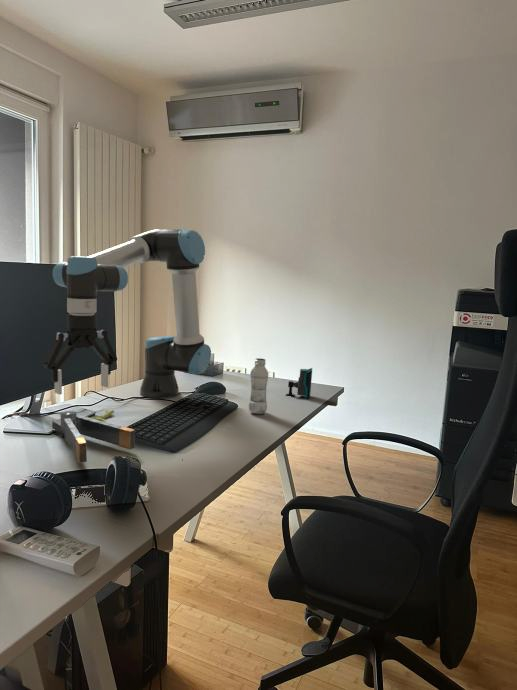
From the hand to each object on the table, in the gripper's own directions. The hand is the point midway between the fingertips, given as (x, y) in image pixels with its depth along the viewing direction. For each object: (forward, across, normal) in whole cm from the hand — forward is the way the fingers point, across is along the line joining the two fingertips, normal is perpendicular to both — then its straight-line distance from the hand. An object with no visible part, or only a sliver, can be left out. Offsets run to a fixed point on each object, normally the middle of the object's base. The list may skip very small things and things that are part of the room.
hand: (82, 389), depth 132 cm
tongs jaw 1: (+15, -4, -4) cm, 16 cm away
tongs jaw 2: (+15, +5, -4) cm, 16 cm away
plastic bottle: (+16, +61, -11) cm, 64 cm away
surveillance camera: (+16, +91, -6) cm, 93 cm away
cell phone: (+17, -10, -31) cm, 37 cm away
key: (+17, +15, +16) cm, 28 cm away
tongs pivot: (+16, 0, +12) cm, 20 cm away
